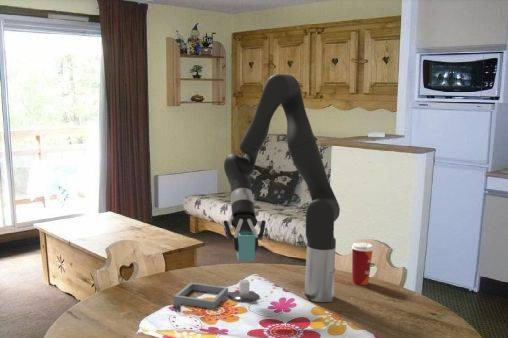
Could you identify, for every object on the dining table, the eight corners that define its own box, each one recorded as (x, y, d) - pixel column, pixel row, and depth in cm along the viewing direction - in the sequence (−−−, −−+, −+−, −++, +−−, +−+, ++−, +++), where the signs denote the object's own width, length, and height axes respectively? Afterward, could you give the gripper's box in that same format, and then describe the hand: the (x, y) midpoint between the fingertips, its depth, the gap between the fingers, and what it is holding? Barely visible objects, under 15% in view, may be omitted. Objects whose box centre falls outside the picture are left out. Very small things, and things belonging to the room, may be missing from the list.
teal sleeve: (252, 256, 162) (252, 231, 161) (254, 260, 157) (255, 235, 156) (236, 256, 161) (237, 231, 160) (238, 261, 156) (239, 235, 155)
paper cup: (373, 286, 178) (375, 248, 176) (351, 285, 178) (353, 247, 177) (368, 279, 186) (371, 242, 184) (347, 278, 186) (350, 241, 184)
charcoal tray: (227, 298, 163) (228, 287, 162) (213, 313, 150) (214, 302, 150) (190, 292, 166) (190, 282, 166) (173, 307, 154) (173, 296, 153)
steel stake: (256, 294, 166) (257, 275, 166) (262, 306, 157) (262, 286, 156) (226, 295, 165) (227, 276, 164) (229, 307, 155) (230, 287, 154)
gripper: (221, 198, 163) (224, 244, 153) (265, 198, 165) (271, 244, 155) (220, 211, 169) (222, 256, 159) (262, 211, 171) (267, 256, 161)
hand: (246, 250), depth 157 cm, fingers closed on teal sleeve, 5 cm apart
